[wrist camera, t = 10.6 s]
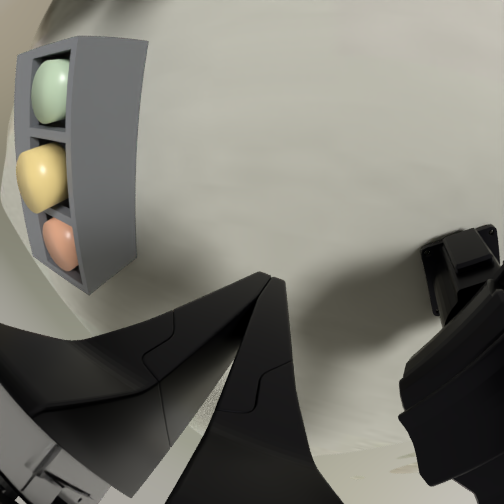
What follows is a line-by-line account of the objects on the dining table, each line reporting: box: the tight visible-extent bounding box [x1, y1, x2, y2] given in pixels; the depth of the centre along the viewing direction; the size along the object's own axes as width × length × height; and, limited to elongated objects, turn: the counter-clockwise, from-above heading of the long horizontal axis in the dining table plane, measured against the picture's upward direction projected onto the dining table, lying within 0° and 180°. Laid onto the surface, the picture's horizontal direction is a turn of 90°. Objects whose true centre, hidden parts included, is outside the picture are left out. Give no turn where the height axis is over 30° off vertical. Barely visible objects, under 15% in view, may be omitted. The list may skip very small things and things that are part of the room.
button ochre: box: [16, 142, 69, 214], centre depth 19 cm, size 5×5×3 cm
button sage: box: [31, 58, 70, 124], centre depth 16 cm, size 5×5×3 cm
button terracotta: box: [43, 217, 79, 271], centre depth 24 cm, size 5×5×3 cm
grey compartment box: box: [14, 36, 148, 295], centre depth 22 cm, size 11×22×8 cm, turn 169°
